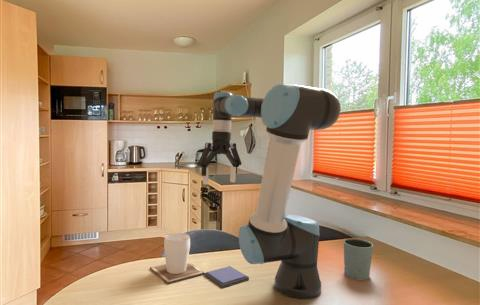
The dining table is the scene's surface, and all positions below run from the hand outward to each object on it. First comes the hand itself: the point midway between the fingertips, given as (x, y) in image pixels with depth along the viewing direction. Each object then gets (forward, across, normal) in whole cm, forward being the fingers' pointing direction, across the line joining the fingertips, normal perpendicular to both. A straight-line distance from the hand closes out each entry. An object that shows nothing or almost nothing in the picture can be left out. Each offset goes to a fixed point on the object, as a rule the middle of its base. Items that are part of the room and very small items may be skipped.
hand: (219, 183), depth 135 cm
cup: (+28, +23, +9) cm, 37 cm away
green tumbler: (+29, -31, +45) cm, 62 cm away
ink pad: (+29, +10, +22) cm, 37 cm away
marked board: (+29, +22, +8) cm, 37 cm away
